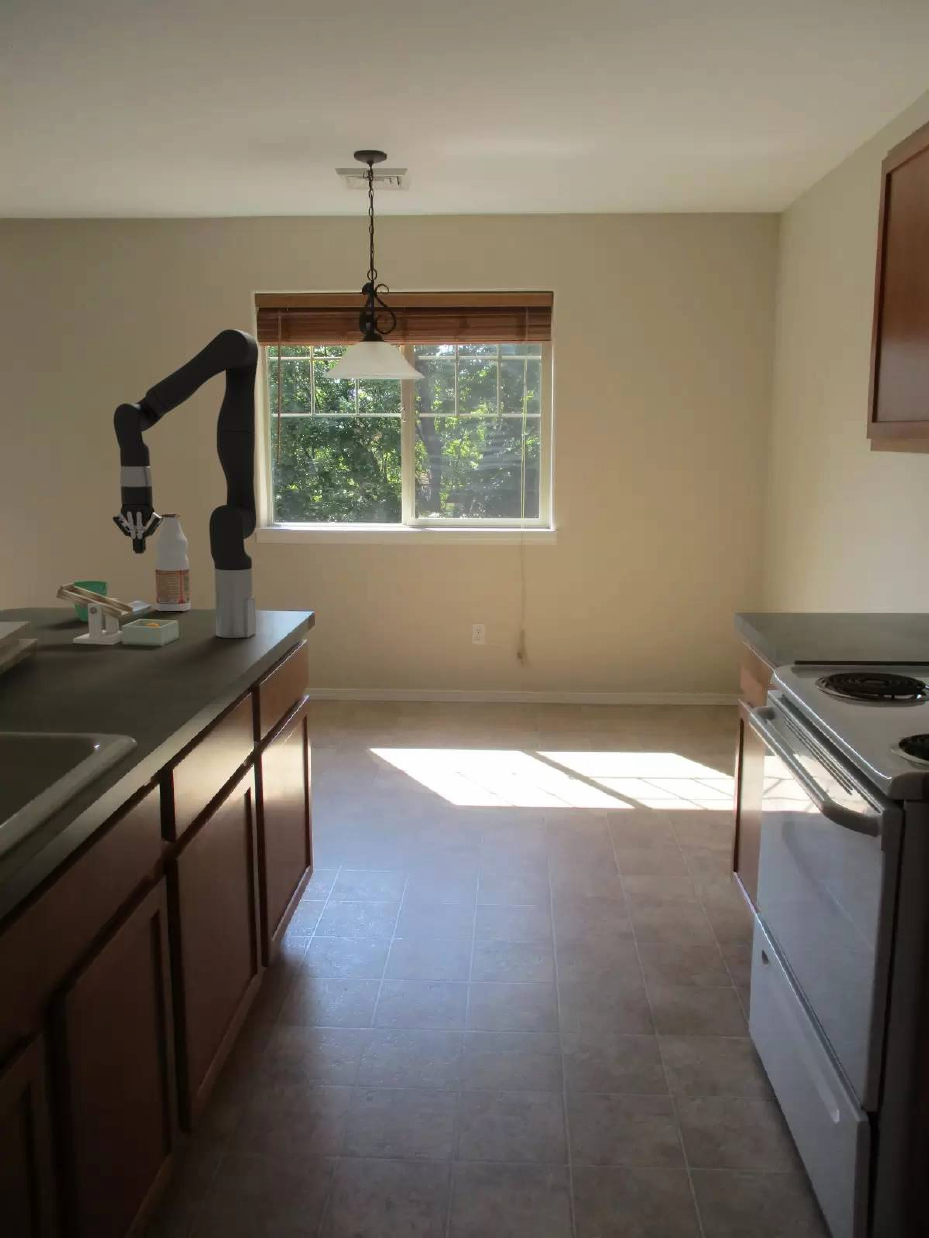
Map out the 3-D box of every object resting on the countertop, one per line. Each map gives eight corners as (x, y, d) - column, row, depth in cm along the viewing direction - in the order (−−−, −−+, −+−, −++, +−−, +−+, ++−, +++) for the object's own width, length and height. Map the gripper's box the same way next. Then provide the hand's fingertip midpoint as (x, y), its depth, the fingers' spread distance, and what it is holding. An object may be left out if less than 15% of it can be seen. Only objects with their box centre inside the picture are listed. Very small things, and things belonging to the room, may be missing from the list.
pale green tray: (178, 638, 252) (178, 620, 251) (161, 646, 242) (161, 627, 241) (140, 636, 253) (139, 618, 252) (122, 644, 243) (121, 626, 242)
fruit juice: (164, 613, 285) (161, 514, 280) (151, 609, 293) (148, 512, 288) (195, 610, 291) (193, 513, 286) (182, 606, 298) (179, 511, 294)
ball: (161, 620, 248) (146, 623, 249) (154, 623, 244) (139, 626, 245) (165, 635, 249) (150, 638, 249) (158, 638, 245) (143, 641, 245)
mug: (107, 622, 271) (106, 585, 269) (68, 623, 268) (66, 586, 266) (112, 613, 285) (110, 578, 283) (75, 614, 282) (73, 578, 280)
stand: (134, 635, 254) (133, 598, 252) (112, 644, 242) (110, 605, 241) (97, 633, 255) (95, 596, 254) (73, 643, 244) (71, 604, 242)
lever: (150, 608, 260) (153, 598, 260) (120, 620, 244) (123, 608, 243) (90, 587, 261) (92, 576, 261) (56, 597, 245) (59, 585, 244)
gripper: (167, 484, 256) (170, 552, 259) (118, 483, 257) (121, 551, 260) (155, 485, 248) (158, 555, 251) (104, 484, 250) (107, 554, 253)
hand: (139, 553), depth 256 cm, fingers closed
